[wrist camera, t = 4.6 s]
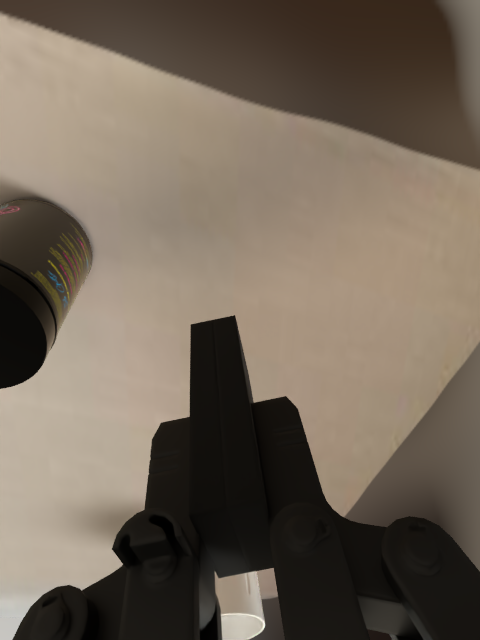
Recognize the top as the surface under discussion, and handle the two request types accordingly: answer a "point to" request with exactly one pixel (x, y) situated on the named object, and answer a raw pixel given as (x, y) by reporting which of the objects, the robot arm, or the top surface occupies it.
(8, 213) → the supplement container
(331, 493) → the top surface
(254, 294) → the top surface
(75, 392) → the top surface
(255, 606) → the white cup
